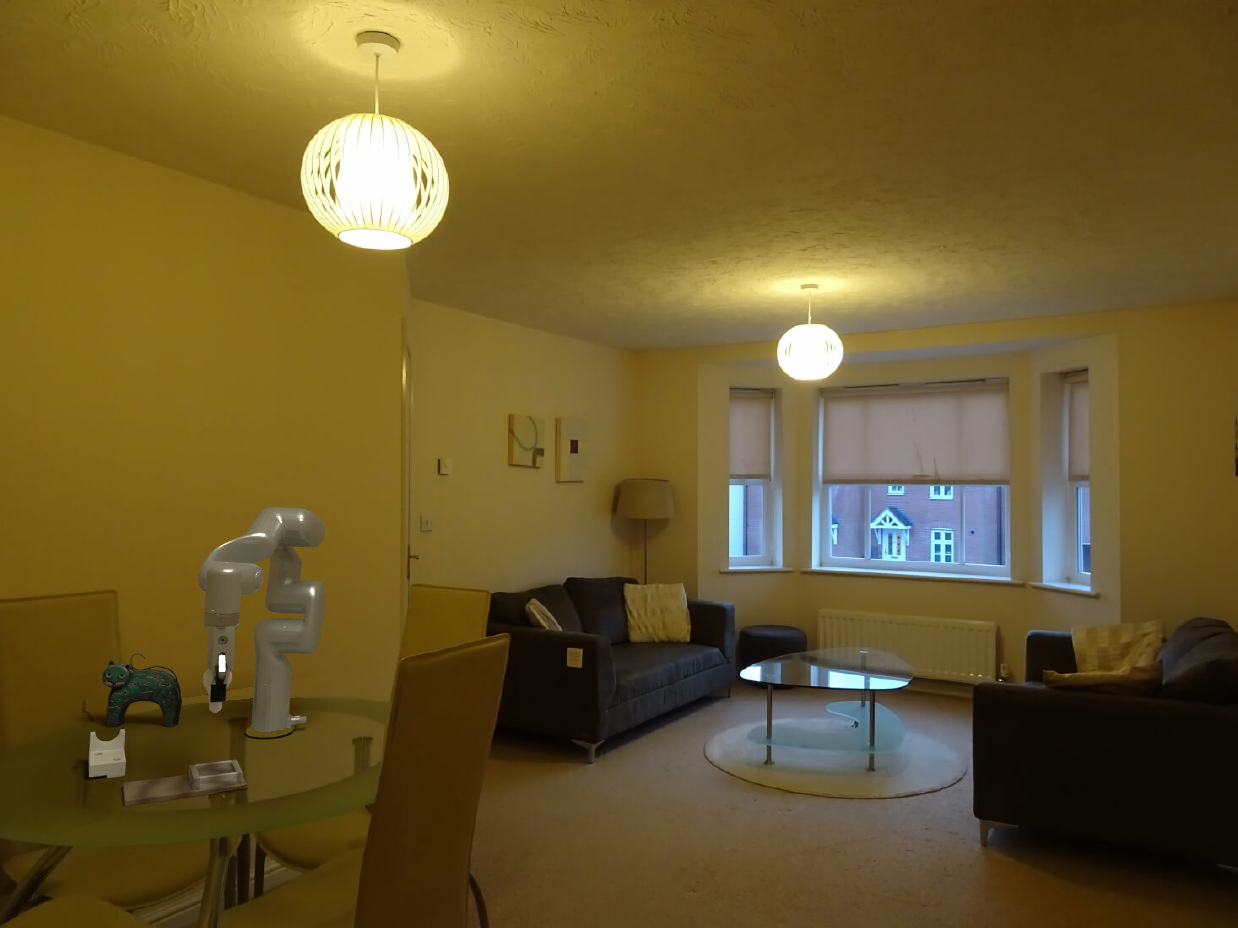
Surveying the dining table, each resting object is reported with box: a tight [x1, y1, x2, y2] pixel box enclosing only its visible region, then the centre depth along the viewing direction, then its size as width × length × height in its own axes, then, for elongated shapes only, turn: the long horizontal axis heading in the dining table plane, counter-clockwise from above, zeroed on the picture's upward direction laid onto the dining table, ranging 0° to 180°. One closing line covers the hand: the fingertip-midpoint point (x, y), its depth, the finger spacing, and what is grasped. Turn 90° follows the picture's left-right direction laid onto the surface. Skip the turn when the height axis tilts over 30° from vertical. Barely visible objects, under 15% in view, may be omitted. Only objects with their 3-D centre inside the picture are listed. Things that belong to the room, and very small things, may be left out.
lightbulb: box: [202, 667, 233, 714], centre depth 192 cm, size 6×6×11 cm
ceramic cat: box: [102, 652, 183, 728], centre depth 232 cm, size 20×6×20 cm, turn 99°
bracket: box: [88, 728, 127, 779], centre depth 197 cm, size 13×7×8 cm, turn 33°
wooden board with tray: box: [122, 759, 248, 807], centre depth 188 cm, size 24×12×4 cm, turn 123°
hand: (216, 697), depth 192 cm, fingers closed on lightbulb, 5 cm apart
